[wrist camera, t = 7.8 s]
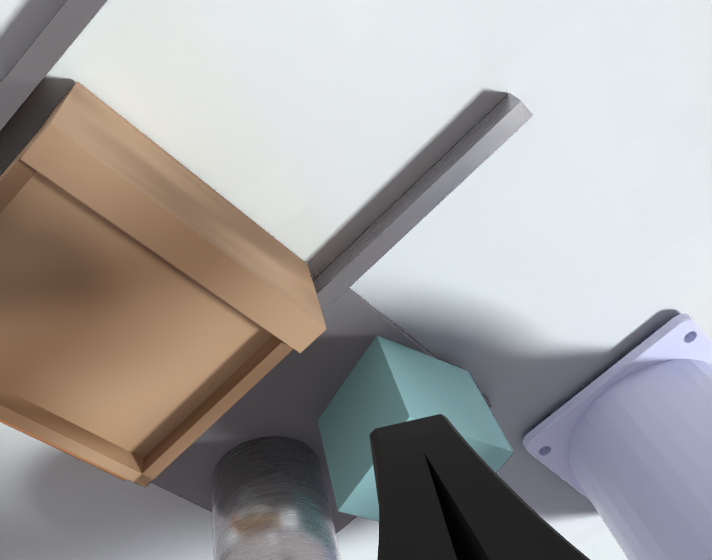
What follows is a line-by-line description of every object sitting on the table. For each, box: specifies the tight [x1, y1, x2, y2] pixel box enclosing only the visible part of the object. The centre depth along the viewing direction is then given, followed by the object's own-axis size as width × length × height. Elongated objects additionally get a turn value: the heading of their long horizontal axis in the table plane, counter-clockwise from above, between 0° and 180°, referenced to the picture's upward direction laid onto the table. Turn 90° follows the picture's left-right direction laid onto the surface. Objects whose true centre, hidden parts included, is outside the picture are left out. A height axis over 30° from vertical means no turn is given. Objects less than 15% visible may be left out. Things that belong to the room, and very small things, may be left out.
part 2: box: [317, 335, 514, 521], centre depth 21 cm, size 4×4×4 cm
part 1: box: [212, 436, 341, 560], centre depth 21 cm, size 4×4×6 cm
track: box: [0, 0, 533, 480], centre depth 18 cm, size 10×17×1 cm, turn 133°
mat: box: [151, 288, 492, 533], centre depth 24 cm, size 8×10×1 cm
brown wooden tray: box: [0, 81, 327, 487], centre depth 17 cm, size 8×8×4 cm
